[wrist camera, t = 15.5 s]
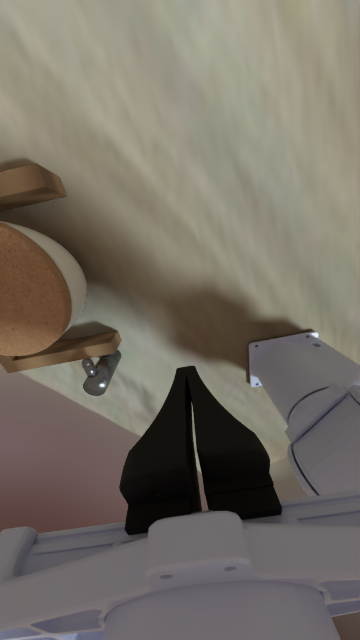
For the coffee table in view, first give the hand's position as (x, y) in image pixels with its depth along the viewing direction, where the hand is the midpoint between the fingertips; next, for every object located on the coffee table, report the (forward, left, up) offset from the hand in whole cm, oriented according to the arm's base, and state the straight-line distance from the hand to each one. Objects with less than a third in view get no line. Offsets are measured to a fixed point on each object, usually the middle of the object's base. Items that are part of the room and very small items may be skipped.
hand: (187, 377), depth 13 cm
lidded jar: (+13, -8, -11) cm, 19 cm away
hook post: (+10, +2, -10) cm, 15 cm away
